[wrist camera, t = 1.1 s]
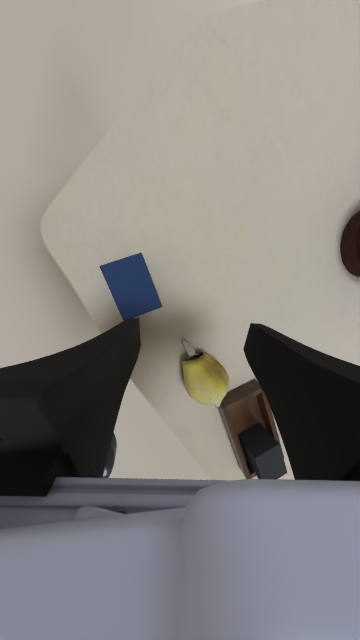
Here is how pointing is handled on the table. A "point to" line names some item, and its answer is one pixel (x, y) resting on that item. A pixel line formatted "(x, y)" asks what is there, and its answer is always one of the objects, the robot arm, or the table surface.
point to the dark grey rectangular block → (262, 452)
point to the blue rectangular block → (131, 286)
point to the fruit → (204, 377)
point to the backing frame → (246, 418)
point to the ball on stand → (351, 245)
